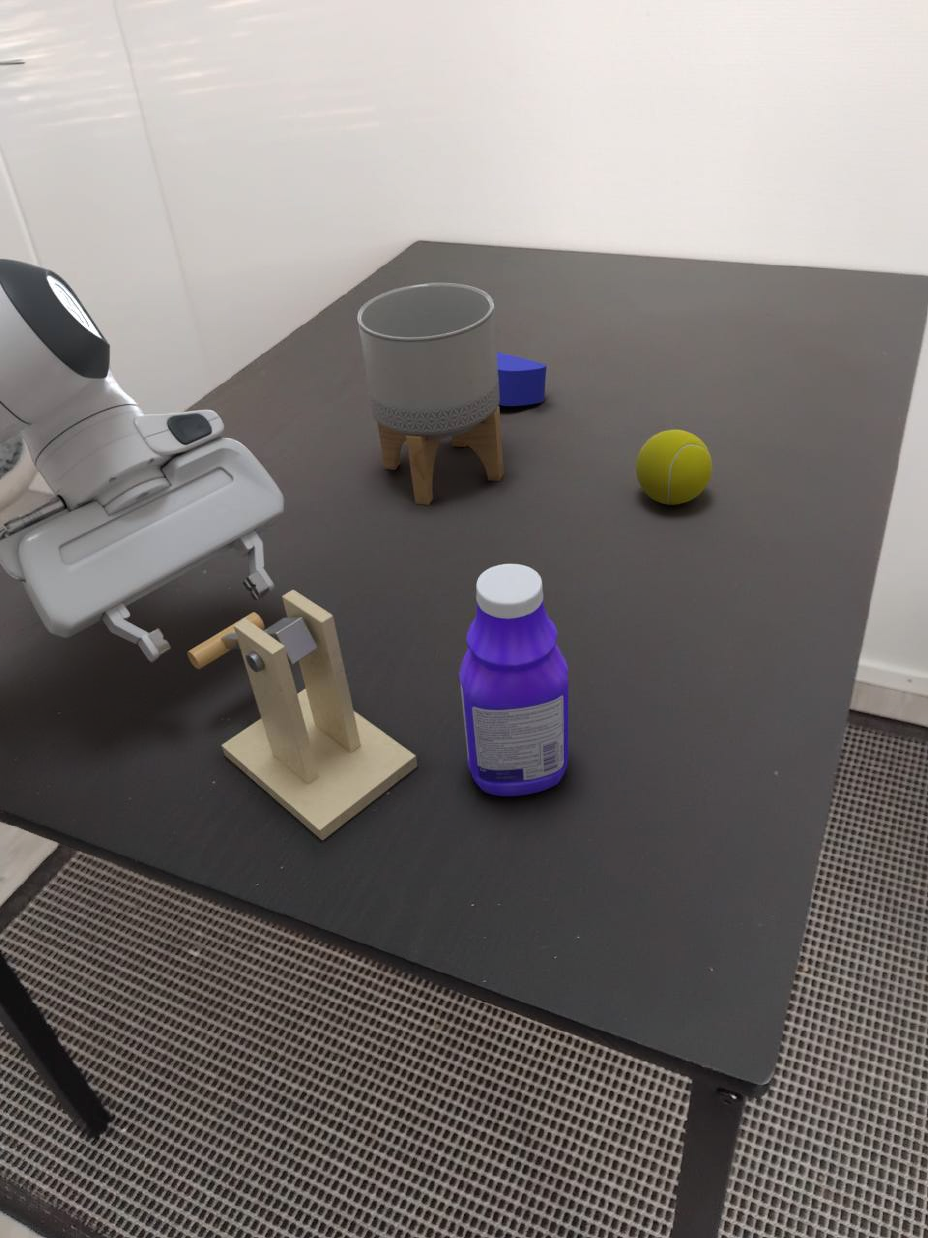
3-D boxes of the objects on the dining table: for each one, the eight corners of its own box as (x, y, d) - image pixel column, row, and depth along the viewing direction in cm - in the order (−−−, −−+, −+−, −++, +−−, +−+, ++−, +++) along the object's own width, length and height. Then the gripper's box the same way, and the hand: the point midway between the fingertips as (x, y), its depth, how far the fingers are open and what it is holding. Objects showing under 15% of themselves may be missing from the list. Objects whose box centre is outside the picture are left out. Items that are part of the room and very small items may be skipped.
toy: (450, 390, 121) (435, 415, 113) (452, 345, 118) (436, 367, 110) (547, 399, 119) (538, 424, 111) (551, 353, 116) (542, 376, 108)
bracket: (224, 755, 74) (176, 616, 66) (317, 692, 79) (283, 554, 70) (322, 841, 67) (282, 698, 59) (417, 766, 72) (394, 623, 63)
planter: (482, 511, 97) (468, 342, 86) (363, 497, 101) (334, 333, 90) (518, 446, 106) (510, 285, 95) (408, 435, 110) (387, 279, 99)
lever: (197, 674, 74) (181, 646, 73) (261, 634, 77) (247, 607, 76) (269, 680, 63) (251, 648, 63) (340, 633, 66) (324, 602, 66)
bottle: (561, 735, 73) (556, 546, 62) (576, 794, 69) (575, 602, 58) (464, 749, 73) (443, 562, 62) (474, 809, 68) (453, 618, 57)
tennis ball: (723, 502, 95) (729, 438, 91) (665, 526, 93) (669, 462, 88) (677, 471, 100) (681, 409, 95) (621, 493, 98) (622, 431, 93)
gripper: (-20, 517, 66) (97, 688, 66) (232, 402, 76) (331, 550, 77) (-21, 547, 71) (86, 705, 72) (214, 435, 82) (306, 574, 82)
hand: (215, 624), depth 74 cm, fingers open, 8 cm apart
